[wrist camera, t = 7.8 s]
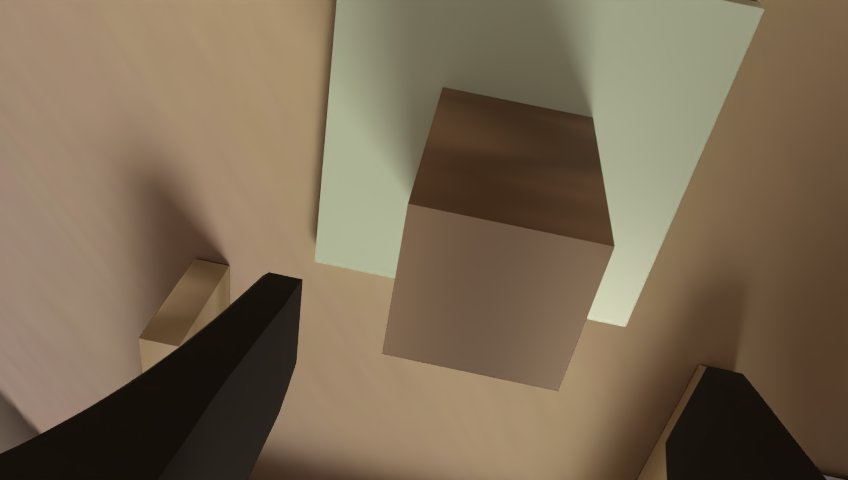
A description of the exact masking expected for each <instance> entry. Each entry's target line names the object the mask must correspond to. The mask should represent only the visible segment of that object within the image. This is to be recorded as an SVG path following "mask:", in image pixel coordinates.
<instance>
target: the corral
mask: <svg viewBox="0 0 848 480" xmlns="http://www.w3.org/2000/svg"><path fill="white" fill-rule="evenodd" d="M229 306H230V266H227V265H223V264H218V263H213V262H208V261H204V260H199V259H194V261H193V262H192V263H191V265H190V266H189V268H188V269H187V270H186V272H185V273H184V275H183V276H182V278H181V279H180V280H179V282H178V283H177V285H176V286H175V287H174V289H173V290H172V292H171V293H170V295H169V296H168V297H167V299H166V300H165V302H164V303H163V304H162V306H161V307H160V309H159V310H158V312H157V313H156V314H155V316H154V317H153V319H152V320H151V321H150V323H149V324H148V326H147V327H146V329H145V330H144V331H143V333H142V334H141V336H140V337H139V346H140V355H141V365H142V373H144V372H145V371H147V370H148V369H149V368H151V367H152V366H154V365H155V364H156V363H158V362H159V361H160V360H162V359H163V358H165V357H166V356H167V355H169V354H170V353H172V352H173V351H174V350H176V349H177V348H178V347H180V346H181V345H182V344H184V343H185V342H186V341H187V340H189V339H190V338H191V337H192V336H194V335H195V334H196V333H197V332H199V331H200V330H201V329H202V328H204V327H205V326H206V325H207V324H209V323H210V322H211V321H212V320H213V319H215V318H216V317H217V316H218V315H219V314H221V313H222V312H223V311H224V310H225V309H226V308H228V307H229ZM706 368H707V367H706V366H701V365H699V366H698V368H697V370H696V372H695V374H694V375H693V377H692V379H691V381H690V383H689V385H688V387H687V388H686V390H685V392H684V394H683V396H682V398H681V399H680V401H679V403H678V405H677V407H676V409H675V410H674V412H673V414H672V416H671V418H670V420H669V421H668V423H667V425H666V427H665V429H664V431H663V433H662V434H661V436H660V438H659V440H658V442H657V444H656V445H655V447H654V449H653V451H652V453H651V455H650V456H649V458H648V460H647V462H646V464H645V466H644V467H643V469H642V471H641V473H640V475H639V477H638V479H637V480H667V473H666V450H665V442H666V440H667V439H668V437H669V435H670V433H671V431H672V429H673V428H674V426H675V424H676V422H677V420H678V419H679V417H680V415H681V413H682V411H683V409H684V408H685V406H686V404H687V402H688V400H689V399H690V397H691V395H692V393H693V391H694V389H695V388H696V386H697V384H698V382H699V380H700V379H701V377H702V375H703V373H704V371H705V369H706Z"/></svg>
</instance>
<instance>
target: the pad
mask: <svg viewBox="0 0 848 480" xmlns="http://www.w3.org/2000/svg"><path fill="white" fill-rule="evenodd" d="M764 10H765V8H764V7H763V6H762V5H761V4H760V3H759V2H756V1H751V0H337V3H336V15H335V27H334V39H333V51H332V63H331V74H330V86H329V98H328V110H327V122H326V133H325V145H324V157H323V169H322V181H321V192H320V204H319V216H318V228H317V240H316V252H315V262H318V263H323V264H328V265H333V266H337V267H342V268H347V269H352V270H356V271H361V272H366V273H371V274H376V275H380V276H385V277H390V278H395V276H396V270H397V264H398V258H399V253H400V247H401V241H402V235H403V229H404V223H405V218H406V212H407V206H408V202H409V198H410V195H411V192H412V188H413V185H414V181H415V178H416V175H417V171H418V168H419V165H420V161H421V158H422V155H423V151H424V148H425V145H426V141H427V138H428V135H429V131H430V128H431V124H432V121H433V118H434V114H435V111H436V108H437V104H438V101H439V98H440V94H441V91H442V88H443V87H446V88H450V89H455V90H460V91H465V92H470V93H475V94H480V95H485V96H490V97H495V98H499V99H504V100H509V101H514V102H519V103H524V104H529V105H534V106H539V107H544V108H548V109H553V110H558V111H563V112H568V113H573V114H578V115H583V116H588V117H593V120H594V126H595V132H596V138H597V144H598V150H599V156H600V162H601V168H602V174H603V180H604V186H605V192H606V198H607V204H608V210H609V215H610V221H611V227H612V233H613V239H614V245H615V247H614V250H613V252H612V255H611V258H610V260H609V263H608V265H607V268H606V270H605V273H604V275H603V278H602V281H601V283H600V286H599V288H598V291H597V293H596V296H595V299H594V301H593V304H592V306H591V309H590V311H589V314H588V316H587V319H590V320H594V321H599V322H604V323H609V324H613V325H618V326H623V327H626V325H627V323H628V320H629V318H630V316H631V314H632V311H633V309H634V307H635V304H636V302H637V300H638V298H639V295H640V293H641V291H642V289H643V286H644V284H645V282H646V279H647V277H648V275H649V273H650V270H651V268H652V266H653V263H654V261H655V259H656V257H657V254H658V252H659V250H660V247H661V245H662V243H663V241H664V238H665V236H666V234H667V231H668V229H669V227H670V225H671V222H672V220H673V218H674V215H675V213H676V211H677V209H678V206H679V204H680V202H681V199H682V197H683V195H684V193H685V190H686V188H687V186H688V184H689V181H690V179H691V177H692V174H693V172H694V170H695V168H696V165H697V163H698V161H699V158H700V156H701V154H702V152H703V149H704V147H705V145H706V142H707V140H708V138H709V136H710V133H711V131H712V129H713V126H714V124H715V122H716V120H717V117H718V115H719V113H720V110H721V108H722V106H723V104H724V101H725V99H726V97H727V94H728V92H729V90H730V88H731V85H732V83H733V81H734V79H735V76H736V74H737V72H738V69H739V67H740V65H741V63H742V60H743V58H744V56H745V53H746V51H747V49H748V47H749V44H750V42H751V40H752V37H753V35H754V33H755V31H756V28H757V26H758V24H759V21H760V19H761V17H762V15H763V12H764Z"/></svg>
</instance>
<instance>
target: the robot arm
mask: <svg viewBox="0 0 848 480" xmlns="http://www.w3.org/2000/svg"><path fill="white" fill-rule="evenodd" d="M301 292H302V279H298V278H293V277H288V276H284V275H279V274H274V273H270V272H269V273H267V274H265V275H264V276H262V277H261V278H260V279H259V280H258V281H257V282H256V283H254V284H253V285H252V286H251V287H250V288H249V289H248V290H247V291H246V292H245V293H244V294H242V295H241V296H240V297H239V298H238V299H237V300H236V301H235V302H233V303H232V304H231V305H230V306H229V307H228V308H226V309H225V310H224V311H223V312H222V313H221V314H219V315H218V316H217V317H216V318H215V319H213V320H212V321H211V322H210V323H209V324H207V325H206V326H205V327H204V328H202V329H201V330H200V331H199V332H197V333H196V334H195V335H194V336H192V337H191V338H190V339H189V340H187V341H186V342H185V343H184V344H182V345H181V346H180V347H178V348H177V349H176V350H174V351H173V352H172V353H170V354H169V355H167V356H166V357H165V358H163V359H162V360H160V361H159V362H158V363H156V364H155V365H154V366H152V367H151V368H149V369H148V370H147V371H145V372H144V373H142V374H141V375H140V376H138V377H137V378H135V379H134V380H132V381H131V382H129V383H128V384H126V385H125V386H123V387H121V388H120V389H118V390H117V391H115V392H114V393H112V394H110V395H109V396H107V397H105V398H104V399H102V400H101V401H99V402H97V403H96V404H94V405H92V406H91V407H89V408H87V409H86V410H84V411H82V412H80V413H78V414H77V415H75V416H73V417H71V418H69V419H68V420H66V421H64V422H62V423H60V424H59V425H57V426H55V427H53V428H51V429H49V430H48V431H46V432H44V433H42V434H40V435H38V436H36V437H34V438H32V439H30V440H28V441H26V442H25V443H22V444H20V445H18V446H16V447H14V448H12V449H10V450H8V451H5V452H3V453H1V454H0V480H247V479H248V477H249V475H250V473H251V471H252V469H253V467H254V464H255V462H256V460H257V458H258V456H259V454H260V452H261V450H262V448H263V446H264V444H265V442H266V439H267V437H268V435H269V433H270V431H271V429H272V427H273V425H274V423H275V420H276V418H277V416H278V414H279V412H280V409H281V406H282V403H283V400H284V397H285V395H286V392H287V389H288V386H289V383H290V380H291V377H292V374H293V371H294V368H295V365H296V360H297V346H298V333H299V319H300V306H301ZM665 450H666V473H667V480H844V479H839V478H834V477H829V476H825V475H822V473H821V472H820V471H819V470H818V468H817V467H816V466H815V465H814V464H813V462H812V461H811V460H810V459H809V457H808V456H807V455H806V454H805V452H804V451H803V450H802V448H801V447H800V446H799V445H798V443H797V442H796V441H795V440H794V438H793V437H792V436H791V434H790V433H789V432H788V431H787V429H786V428H785V427H784V425H783V424H782V423H781V422H780V420H779V419H778V418H777V416H776V415H775V414H774V413H773V411H772V410H771V409H770V407H769V406H768V405H767V404H766V402H765V401H764V400H763V398H762V397H761V396H760V395H759V393H758V392H757V391H756V390H755V388H754V387H753V386H752V385H751V383H750V382H749V381H748V380H747V379H746V377H745V376H744V375H743V374H742V373H737V372H732V371H728V370H723V369H718V368H714V367H709V366H707V368H706V369H705V371H704V373H703V375H702V377H701V379H700V380H699V382H698V384H697V386H696V388H695V389H694V391H693V393H692V395H691V397H690V399H689V400H688V402H687V404H686V406H685V408H684V409H683V411H682V413H681V415H680V417H679V419H678V420H677V422H676V424H675V426H674V428H673V429H672V431H671V433H670V435H669V437H668V439H667V440H666V442H665Z"/></svg>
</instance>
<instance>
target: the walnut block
mask: <svg viewBox="0 0 848 480" xmlns="http://www.w3.org/2000/svg"><path fill="white" fill-rule="evenodd" d="M614 247H615V245H614V239H613V233H612V227H611V221H610V215H609V210H608V204H607V198H606V192H605V186H604V180H603V174H602V168H601V162H600V156H599V150H598V144H597V138H596V132H595V126H594V120H593V117H588V116H583V115H578V114H573V113H568V112H563V111H558V110H553V109H548V108H544V107H539V106H534V105H529V104H524V103H519V102H514V101H509V100H504V99H499V98H495V97H490V96H485V95H480V94H475V93H470V92H465V91H460V90H455V89H450V88H446V87H443V88H442V91H441V94H440V98H439V101H438V104H437V108H436V111H435V114H434V118H433V121H432V124H431V128H430V131H429V135H428V138H427V141H426V145H425V148H424V151H423V155H422V158H421V161H420V165H419V168H418V171H417V175H416V178H415V181H414V185H413V188H412V192H411V195H410V198H409V202H408V206H407V212H406V218H405V223H404V229H403V235H402V241H401V247H400V253H399V258H398V264H397V270H396V276H395V282H394V288H393V293H392V299H391V305H390V311H389V317H388V323H387V328H386V334H385V340H384V346H383V352H382V354H385V355H390V356H395V357H399V358H404V359H409V360H414V361H418V362H423V363H428V364H432V365H437V366H442V367H446V368H451V369H456V370H461V371H465V372H470V373H475V374H479V375H484V376H489V377H493V378H498V379H503V380H508V381H512V382H517V383H522V384H526V385H531V386H536V387H541V388H545V389H550V390H555V391H559V388H560V385H561V383H562V380H563V378H564V375H565V373H566V370H567V368H568V365H569V362H570V360H571V357H572V355H573V352H574V350H575V347H576V345H577V342H578V339H579V337H580V334H581V332H582V329H583V327H584V324H585V322H586V319H587V316H588V314H589V311H590V309H591V306H592V304H593V301H594V299H595V296H596V293H597V291H598V288H599V286H600V283H601V281H602V278H603V275H604V273H605V270H606V268H607V265H608V263H609V260H610V258H611V255H612V252H613V250H614Z"/></svg>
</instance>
